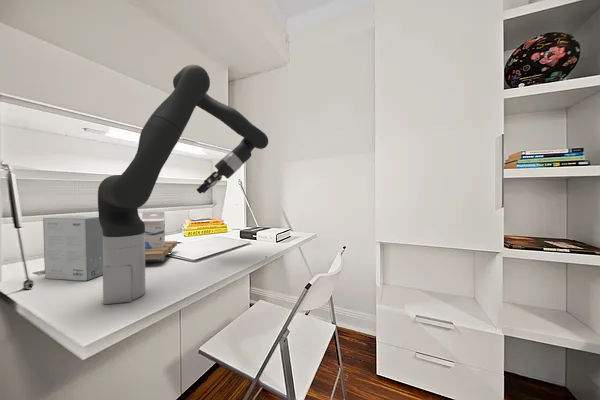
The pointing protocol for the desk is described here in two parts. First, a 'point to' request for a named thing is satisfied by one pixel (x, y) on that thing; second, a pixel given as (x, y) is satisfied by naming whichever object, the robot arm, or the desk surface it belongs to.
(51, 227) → the hard drive box
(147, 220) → the ink box
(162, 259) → the rollers
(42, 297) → the desk surface
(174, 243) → the slab
